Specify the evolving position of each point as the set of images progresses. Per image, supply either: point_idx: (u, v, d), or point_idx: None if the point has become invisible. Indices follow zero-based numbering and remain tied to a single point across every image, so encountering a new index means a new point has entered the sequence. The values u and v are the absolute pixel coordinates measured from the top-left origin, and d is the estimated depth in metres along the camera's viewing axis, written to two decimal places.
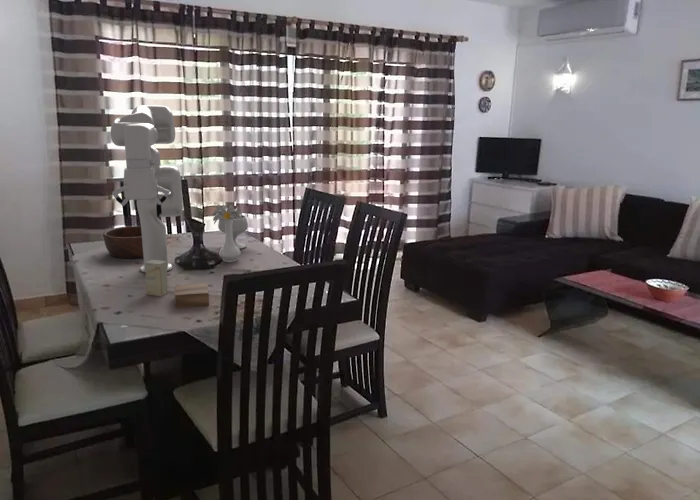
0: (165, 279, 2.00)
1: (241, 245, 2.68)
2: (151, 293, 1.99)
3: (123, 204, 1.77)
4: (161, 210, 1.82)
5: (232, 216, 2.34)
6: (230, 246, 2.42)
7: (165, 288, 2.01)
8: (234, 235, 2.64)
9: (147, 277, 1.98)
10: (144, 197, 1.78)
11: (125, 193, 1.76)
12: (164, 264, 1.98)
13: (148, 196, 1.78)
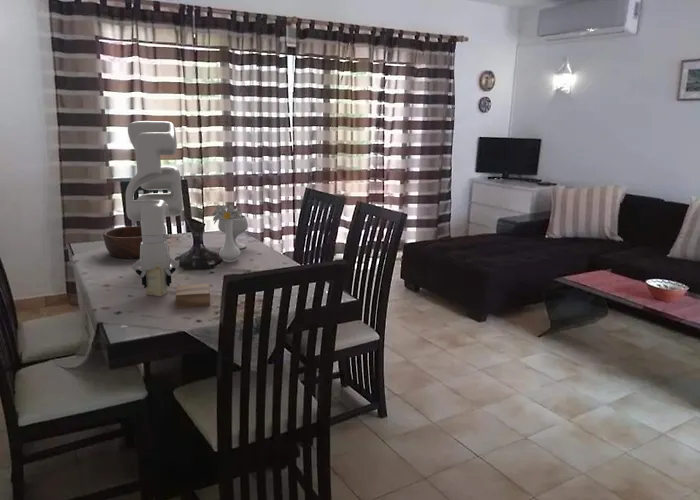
0: (165, 279, 2.00)
1: (241, 245, 2.68)
2: (151, 292, 1.99)
3: (142, 276, 1.97)
4: None
5: (232, 216, 2.34)
6: (230, 246, 2.42)
7: (165, 288, 2.01)
8: (234, 235, 2.64)
9: (147, 277, 1.98)
10: None
11: (141, 265, 1.95)
12: None
13: (162, 266, 1.97)
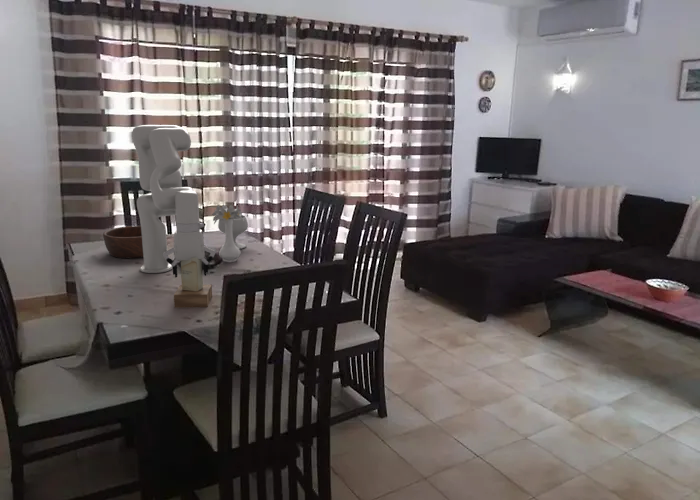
0: (201, 273, 1.92)
1: (241, 245, 2.68)
2: (186, 288, 1.91)
3: (173, 265, 1.88)
4: (207, 269, 1.93)
5: (232, 216, 2.34)
6: (230, 246, 2.42)
7: (201, 283, 1.93)
8: (234, 235, 2.64)
9: (182, 271, 1.90)
10: None
11: (175, 255, 1.87)
12: None
13: None
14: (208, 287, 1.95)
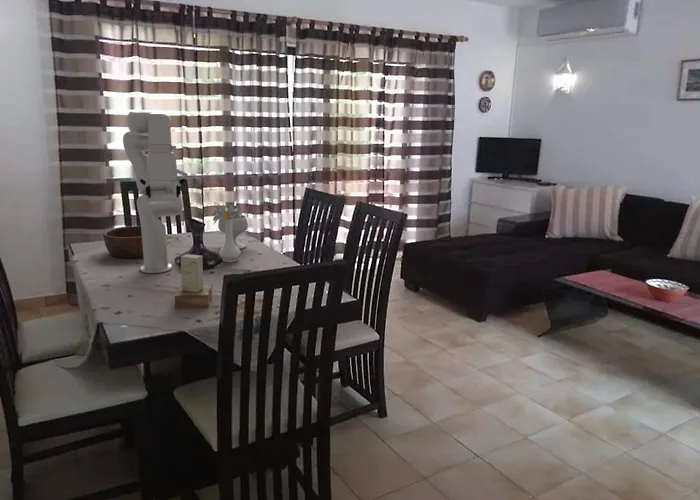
0: (201, 274, 1.91)
1: (241, 245, 2.68)
2: (186, 288, 1.90)
3: (146, 185, 1.95)
4: (180, 191, 2.01)
5: (232, 216, 2.34)
6: (230, 246, 2.42)
7: (201, 284, 1.91)
8: (234, 235, 2.64)
9: (182, 272, 1.89)
10: (165, 179, 1.96)
11: (148, 175, 1.94)
12: (200, 259, 1.89)
13: (169, 178, 1.96)
14: (208, 287, 1.95)
